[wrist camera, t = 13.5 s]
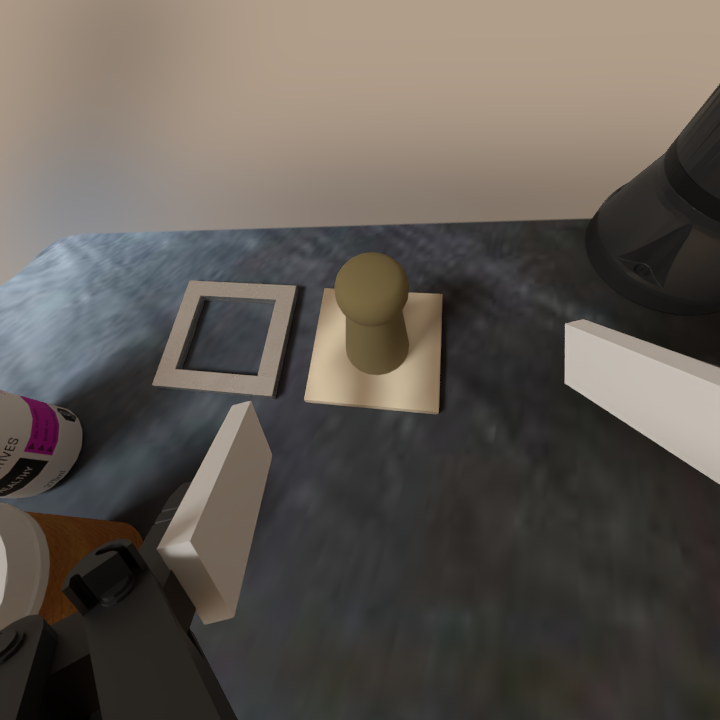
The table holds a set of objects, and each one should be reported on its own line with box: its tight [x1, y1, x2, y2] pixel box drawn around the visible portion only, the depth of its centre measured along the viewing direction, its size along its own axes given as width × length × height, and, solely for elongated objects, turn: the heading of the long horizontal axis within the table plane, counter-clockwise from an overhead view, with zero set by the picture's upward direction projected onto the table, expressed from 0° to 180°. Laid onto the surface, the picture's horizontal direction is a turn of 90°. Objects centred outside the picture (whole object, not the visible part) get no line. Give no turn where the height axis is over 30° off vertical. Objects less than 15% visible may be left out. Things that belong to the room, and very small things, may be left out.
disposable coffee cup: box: [0, 503, 143, 630], centre depth 22 cm, size 10×10×12 cm
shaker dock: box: [152, 281, 299, 399], centre depth 35 cm, size 12×12×1 cm
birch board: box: [304, 288, 442, 414], centre depth 33 cm, size 12×12×1 cm
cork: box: [334, 252, 409, 375], centre depth 27 cm, size 6×6×11 cm
